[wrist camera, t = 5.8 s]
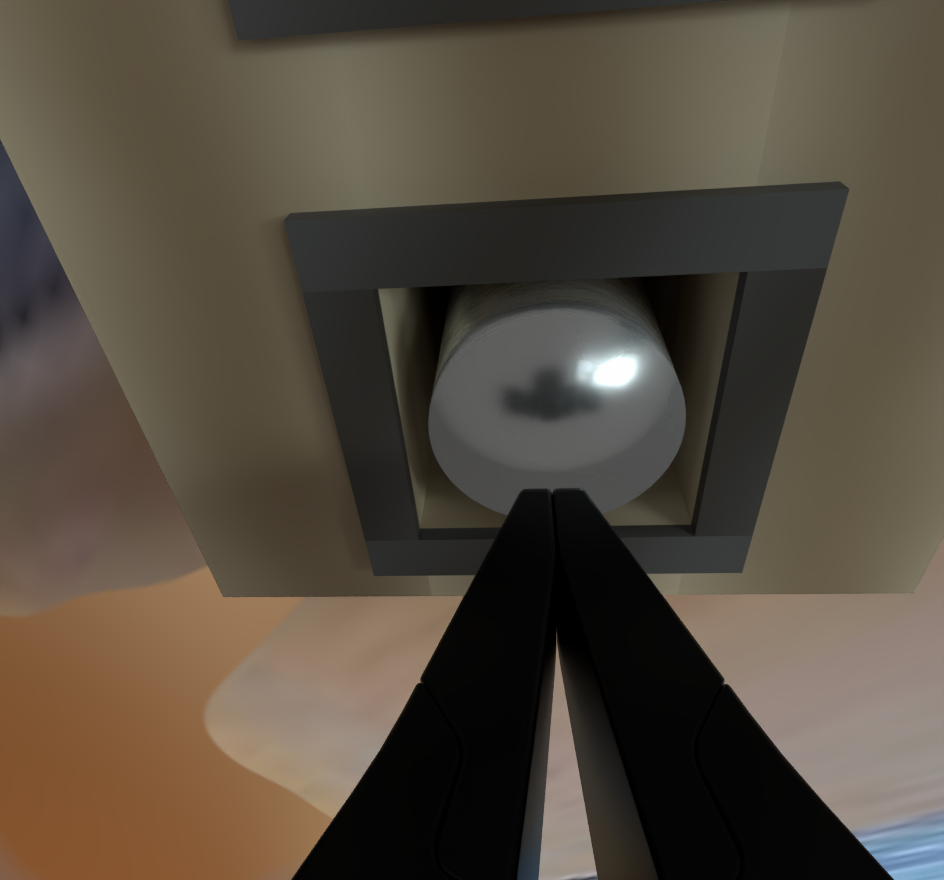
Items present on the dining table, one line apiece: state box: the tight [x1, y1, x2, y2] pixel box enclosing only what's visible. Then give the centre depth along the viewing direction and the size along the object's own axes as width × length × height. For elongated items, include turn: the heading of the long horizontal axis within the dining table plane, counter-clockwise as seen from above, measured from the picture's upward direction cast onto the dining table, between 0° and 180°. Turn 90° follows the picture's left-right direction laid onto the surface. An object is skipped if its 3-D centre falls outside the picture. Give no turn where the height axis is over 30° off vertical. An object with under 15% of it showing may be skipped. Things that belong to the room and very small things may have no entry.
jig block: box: [0, 0, 944, 597], centre depth 10 cm, size 14×18×6 cm
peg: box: [428, 277, 686, 515], centre depth 12 cm, size 4×4×6 cm
